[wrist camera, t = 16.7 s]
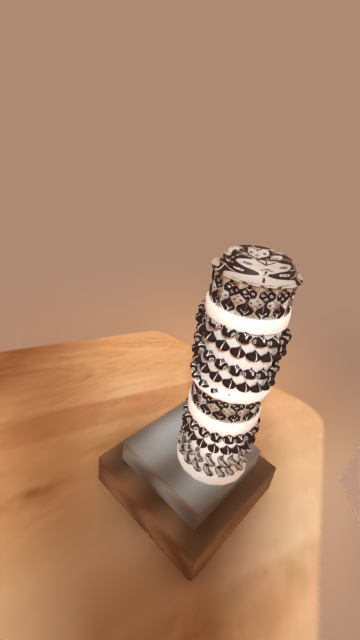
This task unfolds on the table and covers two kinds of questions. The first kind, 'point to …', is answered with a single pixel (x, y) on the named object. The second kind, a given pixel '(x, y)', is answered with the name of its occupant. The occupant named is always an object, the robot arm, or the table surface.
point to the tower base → (171, 523)
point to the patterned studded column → (235, 359)
